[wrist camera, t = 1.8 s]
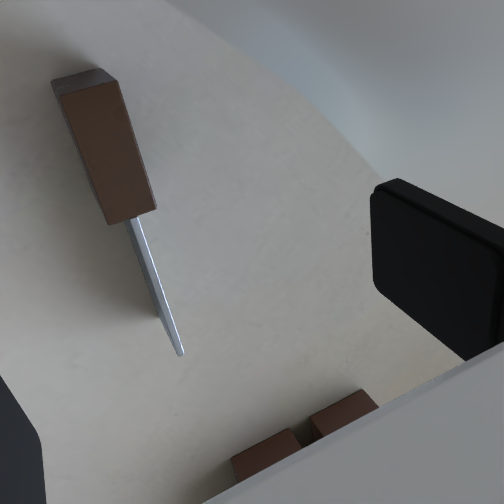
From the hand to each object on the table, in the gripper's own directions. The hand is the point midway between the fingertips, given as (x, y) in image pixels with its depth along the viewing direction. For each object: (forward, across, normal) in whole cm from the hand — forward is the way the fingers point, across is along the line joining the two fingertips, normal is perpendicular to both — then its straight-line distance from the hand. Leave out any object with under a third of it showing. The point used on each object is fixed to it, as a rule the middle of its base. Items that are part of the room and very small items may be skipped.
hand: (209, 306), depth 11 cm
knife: (+16, 0, +4) cm, 17 cm away
